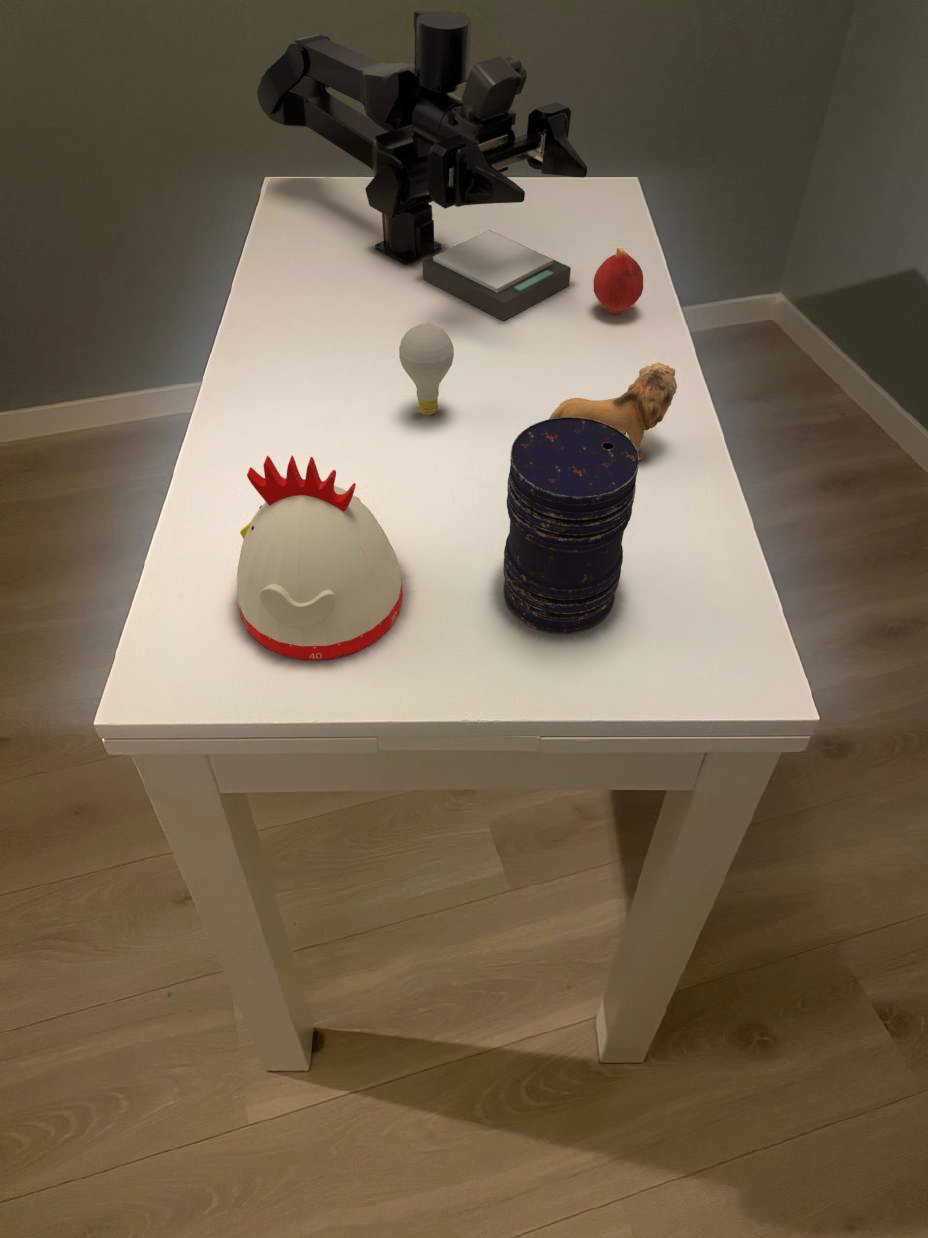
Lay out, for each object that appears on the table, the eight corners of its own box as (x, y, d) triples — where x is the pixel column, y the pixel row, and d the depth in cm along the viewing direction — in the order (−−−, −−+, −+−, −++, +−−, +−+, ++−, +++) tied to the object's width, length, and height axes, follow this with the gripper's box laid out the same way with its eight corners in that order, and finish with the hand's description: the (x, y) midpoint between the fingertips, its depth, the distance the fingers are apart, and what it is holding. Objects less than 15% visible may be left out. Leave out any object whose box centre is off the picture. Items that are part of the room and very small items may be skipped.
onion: (638, 301, 114) (648, 237, 108) (639, 326, 110) (649, 261, 104) (590, 298, 115) (597, 235, 109) (590, 323, 111) (597, 258, 105)
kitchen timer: (263, 537, 86) (234, 399, 75) (412, 548, 85) (405, 410, 74) (222, 652, 76) (181, 515, 65) (388, 666, 76) (376, 529, 64)
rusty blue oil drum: (532, 649, 77) (545, 512, 66) (483, 571, 83) (487, 434, 72) (637, 614, 80) (666, 477, 68) (582, 541, 86) (600, 404, 74)
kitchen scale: (422, 279, 118) (422, 256, 115) (488, 247, 123) (489, 225, 121) (503, 321, 111) (504, 297, 109) (569, 285, 117) (571, 262, 114)
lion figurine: (650, 424, 97) (665, 348, 91) (675, 454, 94) (692, 377, 87) (520, 453, 94) (525, 377, 87) (541, 486, 91) (548, 408, 84)
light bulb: (461, 403, 100) (461, 318, 92) (443, 432, 96) (442, 347, 89) (413, 393, 101) (409, 309, 94) (394, 422, 97) (389, 336, 90)
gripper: (391, 69, 94) (495, 126, 87) (525, 31, 102) (630, 80, 95) (392, 179, 103) (487, 239, 96) (515, 135, 111) (611, 188, 104)
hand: (555, 184), depth 98 cm, fingers open, 9 cm apart
